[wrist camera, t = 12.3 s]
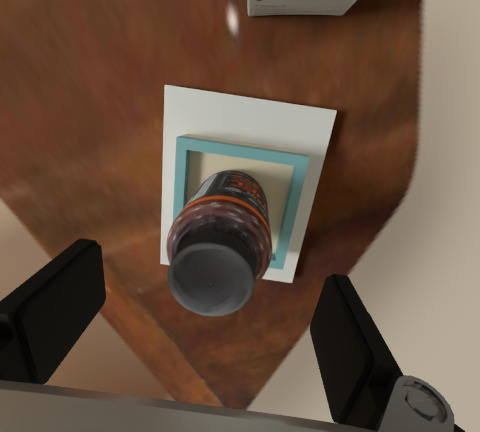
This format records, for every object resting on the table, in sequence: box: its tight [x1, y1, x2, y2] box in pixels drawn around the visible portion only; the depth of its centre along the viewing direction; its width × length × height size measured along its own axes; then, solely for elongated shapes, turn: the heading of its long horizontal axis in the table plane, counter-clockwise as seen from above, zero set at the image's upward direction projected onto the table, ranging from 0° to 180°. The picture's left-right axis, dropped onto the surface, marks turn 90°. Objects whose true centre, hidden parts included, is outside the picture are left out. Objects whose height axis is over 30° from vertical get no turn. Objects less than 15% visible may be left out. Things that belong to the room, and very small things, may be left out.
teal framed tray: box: [160, 85, 337, 283], centre depth 23 cm, size 17×14×4 cm
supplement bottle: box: [166, 170, 272, 316], centre depth 17 cm, size 6×6×11 cm
